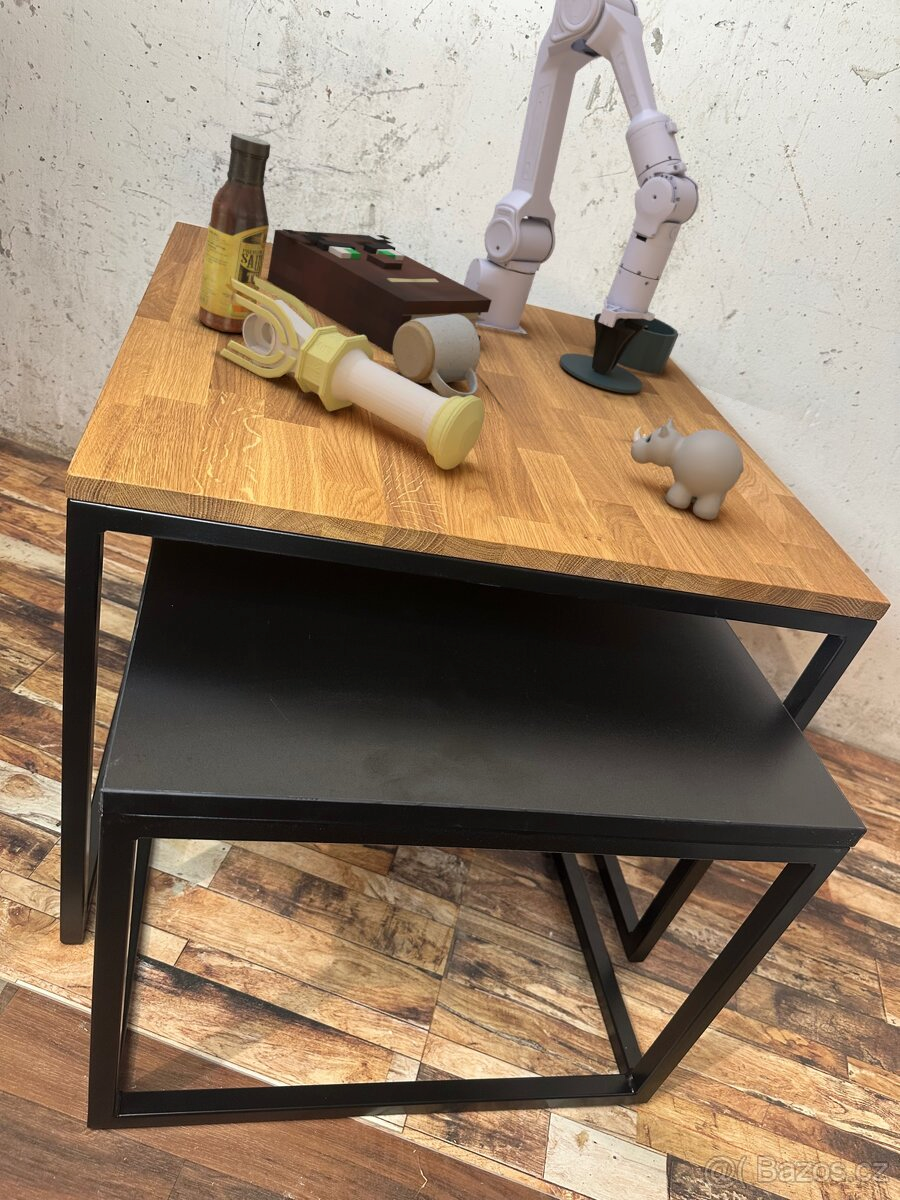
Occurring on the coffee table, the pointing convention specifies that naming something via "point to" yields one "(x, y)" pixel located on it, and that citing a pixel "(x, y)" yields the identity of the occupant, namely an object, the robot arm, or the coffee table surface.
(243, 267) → the sauce bottle
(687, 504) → the chubby cartoon animal
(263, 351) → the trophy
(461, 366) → the ceramic mug
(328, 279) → the dark brown wooden box
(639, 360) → the bowl
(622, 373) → the lid
